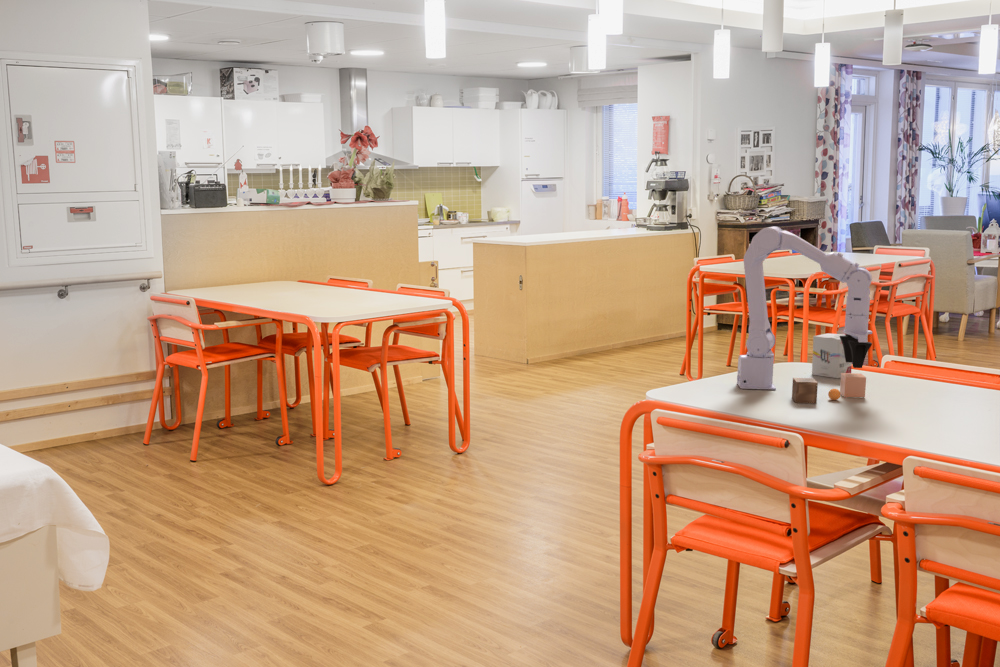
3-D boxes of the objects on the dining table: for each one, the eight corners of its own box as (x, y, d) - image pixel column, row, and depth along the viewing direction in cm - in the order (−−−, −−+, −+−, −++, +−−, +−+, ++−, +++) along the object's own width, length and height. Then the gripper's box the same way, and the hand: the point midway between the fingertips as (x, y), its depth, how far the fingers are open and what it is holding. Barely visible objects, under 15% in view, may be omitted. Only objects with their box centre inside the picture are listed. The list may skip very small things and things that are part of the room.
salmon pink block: (844, 397, 248) (845, 376, 247) (839, 393, 253) (841, 373, 252) (864, 398, 247) (866, 377, 246) (859, 393, 252) (861, 373, 251)
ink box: (825, 370, 283) (827, 331, 281) (852, 375, 277) (854, 335, 275) (810, 374, 278) (812, 335, 276) (837, 379, 271) (840, 338, 270)
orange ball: (829, 401, 243) (830, 389, 243) (826, 398, 246) (827, 387, 246) (841, 401, 243) (842, 390, 243) (838, 398, 246) (839, 387, 246)
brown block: (795, 402, 241) (796, 381, 241) (791, 398, 247) (792, 377, 246) (816, 403, 241) (817, 382, 240) (812, 398, 246) (813, 378, 245)
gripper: (880, 318, 239) (877, 370, 241) (865, 310, 253) (862, 360, 255) (852, 317, 240) (848, 369, 242) (838, 310, 254) (835, 359, 256)
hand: (853, 364), depth 249 cm, fingers open, 7 cm apart
